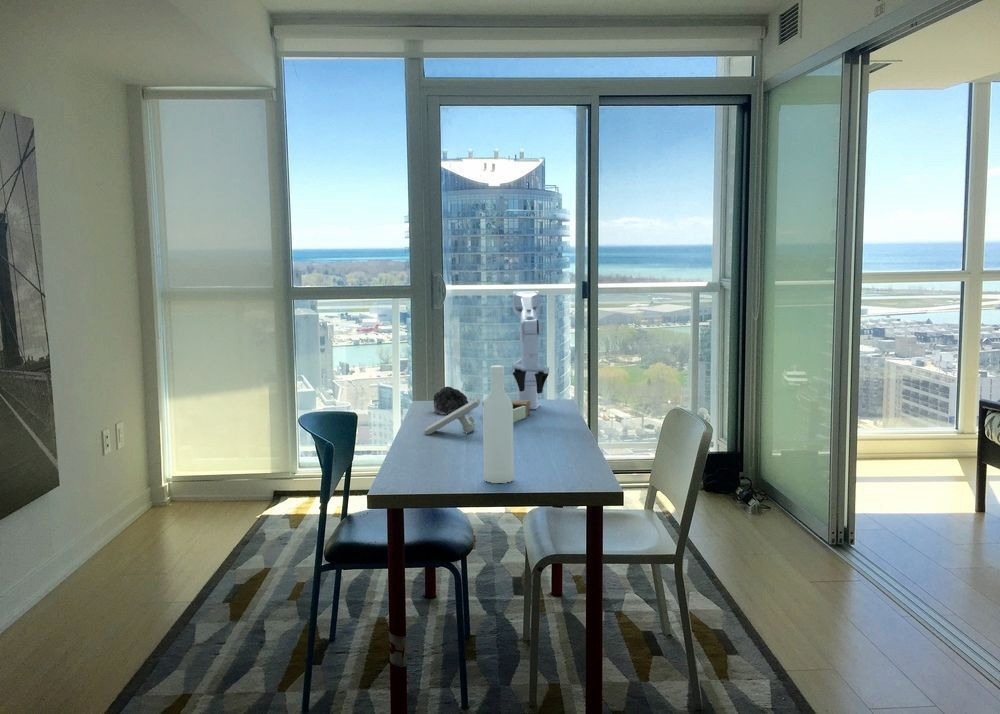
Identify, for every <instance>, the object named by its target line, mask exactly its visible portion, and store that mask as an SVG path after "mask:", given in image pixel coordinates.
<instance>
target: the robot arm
mask: <svg viewBox="0 0 1000 714" xmlns="http://www.w3.org/2000/svg"><path fill="white" fill-rule="evenodd" d="M512 307H513V313H514V315H517V316H518V317H519V321H520V323H519V324H520V326H519V327H520V330H519V331H520V359H518V360H517V361H516V362H515V363H514V364H512V365H511V370H512V375H513V380H514V383H515V384H517V400H530V410H538V408H539V407H540V406H541V403H538V394H542V393H543V390H544V386H545V383H546V380H547V378H548V376H549V374H550V366H549V367H548V366H544V365H543V366H542V365H540V362H539V336H540V329H541V328H540V320H539V318H538V316H537V314H538V313H539V309H540V308H539V307H540V292H539V291H538V290H535V291H533V290H532V291H531V290H530V291H516V290H514V291H513V292H512Z"/></svg>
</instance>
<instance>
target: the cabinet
mask: <svg viewBox="0 0 1000 714" xmlns="http://www.w3.org/2000/svg"><path fill="white" fill-rule="evenodd" d="M511 402H512V405H513V409H515V408H518V407H521V406H526V415H527V416H528V415H529V414H531V413H530V412H531V409H530V400H518V399H511ZM483 404H484V401H483V402H482V405H483ZM528 417H529V416H528Z"/></svg>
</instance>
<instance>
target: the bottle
mask: <svg viewBox="0 0 1000 714" xmlns="http://www.w3.org/2000/svg"><path fill="white" fill-rule="evenodd" d="M505 373H506V371H505V367H504V365H491V366H490V367H489V378H490V379H489V380H490V382H489V383H490V384H489V386H490V388H489V389H490V390H489V391H490V393H489V394H488V395H487V396H486V397H485V399H484V400H483V402H484V404H483V403H482V425H483V426H482V436H483V437H482V438H483V439H482V441H483V477H484V478H483V480H484V481H485V482H486V481H487V482H491V483H505V484H508V483H507V482H510V483H512V482H513V481H514V480H515V477H514V475H515V467H514V465H515V461H514V422H513V405H512V402H511V400H512V399H511V397H509V396H508V395H507V394H506V392H505ZM511 481H512V482H511ZM487 482H486V483H487ZM491 483H490V484H491Z"/></svg>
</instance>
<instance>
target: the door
mask: <svg viewBox="0 0 1000 714" xmlns="http://www.w3.org/2000/svg"><path fill="white" fill-rule="evenodd" d="M526 417H527V415H526V406H521V407H518V408H515V409H513V423H515V422H517V421H519V420H523V419H527V418H528V417H527V418H526Z"/></svg>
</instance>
